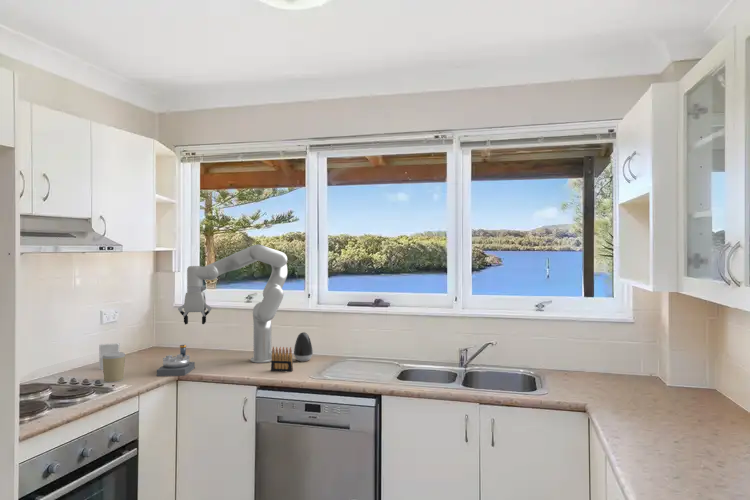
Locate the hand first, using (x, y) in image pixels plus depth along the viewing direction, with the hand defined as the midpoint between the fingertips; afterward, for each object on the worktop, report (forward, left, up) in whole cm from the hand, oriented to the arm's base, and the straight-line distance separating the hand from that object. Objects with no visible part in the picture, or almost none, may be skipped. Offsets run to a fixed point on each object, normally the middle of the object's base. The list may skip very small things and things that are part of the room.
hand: (194, 323), depth 252 cm
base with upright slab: (+42, 0, -22) cm, 48 cm away
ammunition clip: (-46, +13, -22) cm, 52 cm away
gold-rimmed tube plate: (+6, +8, -19) cm, 21 cm away
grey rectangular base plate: (+6, +11, -22) cm, 25 cm away
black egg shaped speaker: (-55, -10, -22) cm, 60 cm away
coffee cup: (+29, +25, -22) cm, 44 cm away
